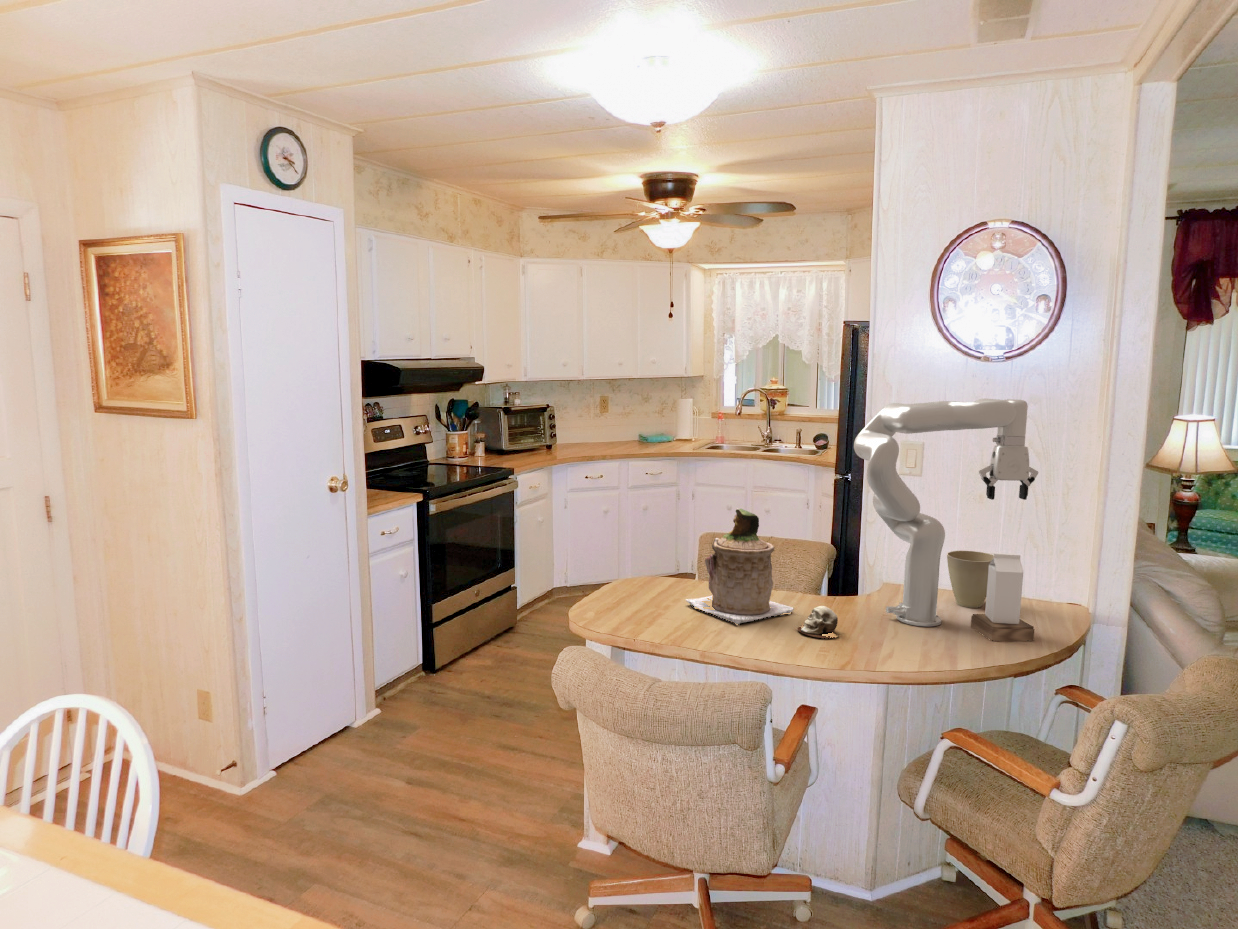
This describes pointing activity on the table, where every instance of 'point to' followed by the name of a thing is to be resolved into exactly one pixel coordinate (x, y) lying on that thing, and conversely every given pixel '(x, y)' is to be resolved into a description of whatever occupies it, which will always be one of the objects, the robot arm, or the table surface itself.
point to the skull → (820, 622)
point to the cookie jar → (741, 574)
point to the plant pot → (969, 576)
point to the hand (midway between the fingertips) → (1006, 498)
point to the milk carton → (1004, 589)
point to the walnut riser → (1002, 629)
